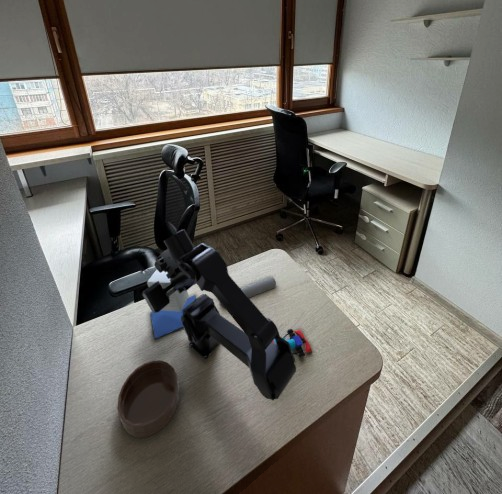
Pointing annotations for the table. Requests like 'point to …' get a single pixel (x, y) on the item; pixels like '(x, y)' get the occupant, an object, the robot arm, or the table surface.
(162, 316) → the cloth
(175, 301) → the small box
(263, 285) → the gray half cylinder
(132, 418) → the bowl
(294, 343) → the toy figure
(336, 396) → the table surface
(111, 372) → the table surface
